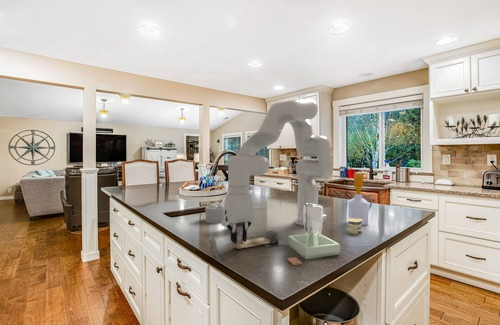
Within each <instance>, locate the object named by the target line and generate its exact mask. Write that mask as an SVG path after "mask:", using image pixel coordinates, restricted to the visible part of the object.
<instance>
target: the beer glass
mask: <svg viewBox="0 0 500 325" xmlns="http://www.w3.org/2000/svg"><path fill="white" fill-rule="evenodd" d="M323 215H324V205H323V204H322V203H321V204H320V203H318V204H317V203H306V204H304V210H303V222H304V226H303V227H304V234H305V243H304V245H305V246H306V247H311V246H319V245H321V234H322V231H323V225H324V219H323Z"/></svg>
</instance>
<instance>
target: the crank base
mask: <svg viewBox="0 0 500 325" xmlns="http://www.w3.org/2000/svg"><path fill="white" fill-rule="evenodd" d="M262 245H263V246H264V247H265V248H271V247H279V246H281V247H282V246H286V245H287V244H286V243H285V242H284V241H282V240H281V239H280V238H279V242H278V243H268V244H262ZM286 259H287V261H288V262H289V263H290V264H291V265H292V266H299V265H302V264H303V262H302V261H301V260H300V259H299V258H298V257H288V258H286Z"/></svg>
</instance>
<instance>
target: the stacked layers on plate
mask: <svg viewBox="0 0 500 325" xmlns="http://www.w3.org/2000/svg"><path fill="white" fill-rule="evenodd" d="M347 219H348V218H347ZM348 221H349V222H348ZM361 221H363V219H357V218H349V219H348V220H347V222H348V223H347V225H348V227H347V229H348V233H349V234H355V235H358V233H359V231H360V230H362V229H364V227H363V225H362V224H363V222H361Z"/></svg>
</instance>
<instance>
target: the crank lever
mask: <svg viewBox="0 0 500 325" xmlns="http://www.w3.org/2000/svg"><path fill="white" fill-rule="evenodd" d="M235 232H237V243H236V244H234V243H233V246H234V247H235V248H236V249H238V250H240V249H244V248H249V247H250V248H251V247H256V246H260V245H261V246H262V245H263V244H268V243H278V242H279V239H280V238H279V232H278V231H275V230H268V231H266V232H265V236H263V237H258V238H251V239H246V242H244V241H243V222H242V223H236V230H235Z"/></svg>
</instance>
